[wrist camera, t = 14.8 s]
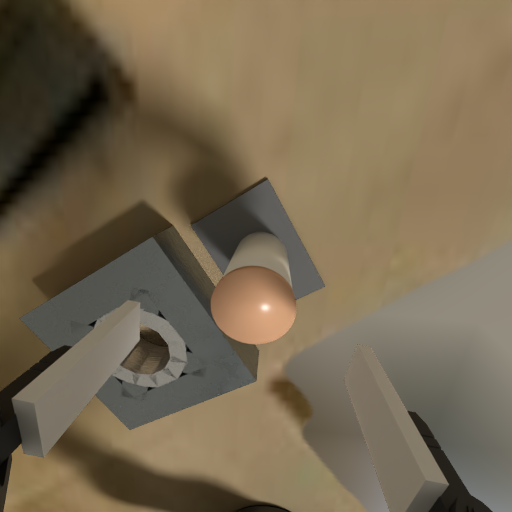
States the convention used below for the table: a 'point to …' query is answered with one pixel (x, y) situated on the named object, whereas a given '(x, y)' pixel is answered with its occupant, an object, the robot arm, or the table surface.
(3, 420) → the robot arm
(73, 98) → the table surface
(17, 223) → the table surface
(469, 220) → the table surface
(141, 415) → the housing
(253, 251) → the capped white peg
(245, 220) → the rubber mat
